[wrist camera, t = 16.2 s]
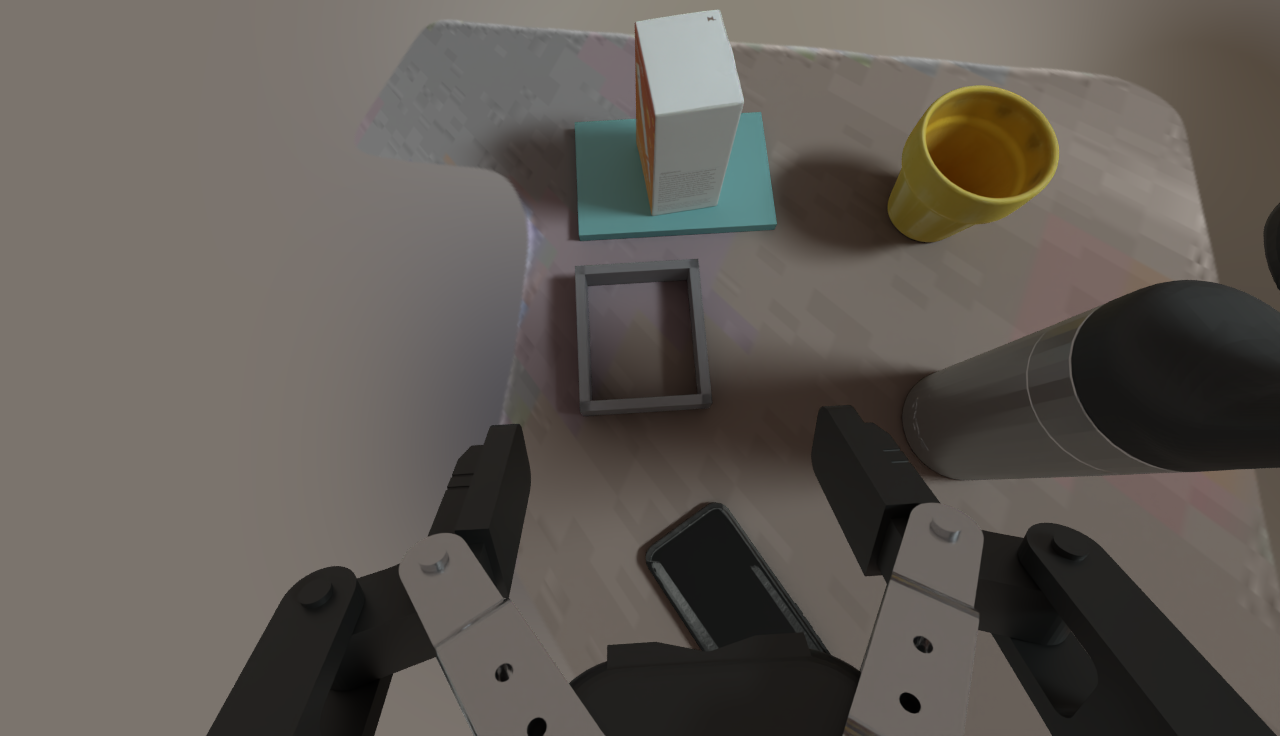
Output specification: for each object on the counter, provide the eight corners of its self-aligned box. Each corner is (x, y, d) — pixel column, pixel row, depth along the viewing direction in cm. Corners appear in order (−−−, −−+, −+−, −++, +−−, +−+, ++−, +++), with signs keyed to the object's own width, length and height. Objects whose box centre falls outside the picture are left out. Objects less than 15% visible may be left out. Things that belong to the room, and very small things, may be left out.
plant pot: (848, 232, 47) (901, 166, 37) (888, 147, 49) (947, 64, 40) (956, 280, 46) (1038, 224, 36) (991, 190, 48) (1078, 115, 38)
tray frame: (695, 271, 46) (698, 258, 43) (708, 408, 43) (712, 403, 40) (578, 278, 46) (574, 266, 43) (583, 416, 43) (580, 411, 40)
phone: (757, 736, 36) (639, 555, 39) (754, 729, 38) (639, 553, 40) (841, 667, 38) (721, 495, 40) (836, 662, 39) (718, 495, 42)
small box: (635, 143, 48) (633, 18, 35) (700, 133, 48) (721, 5, 36) (650, 218, 46) (654, 115, 33) (718, 208, 46) (747, 101, 34)
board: (758, 119, 50) (761, 112, 49) (774, 229, 47) (776, 224, 46) (576, 129, 50) (574, 122, 49) (580, 240, 47) (579, 235, 46)
